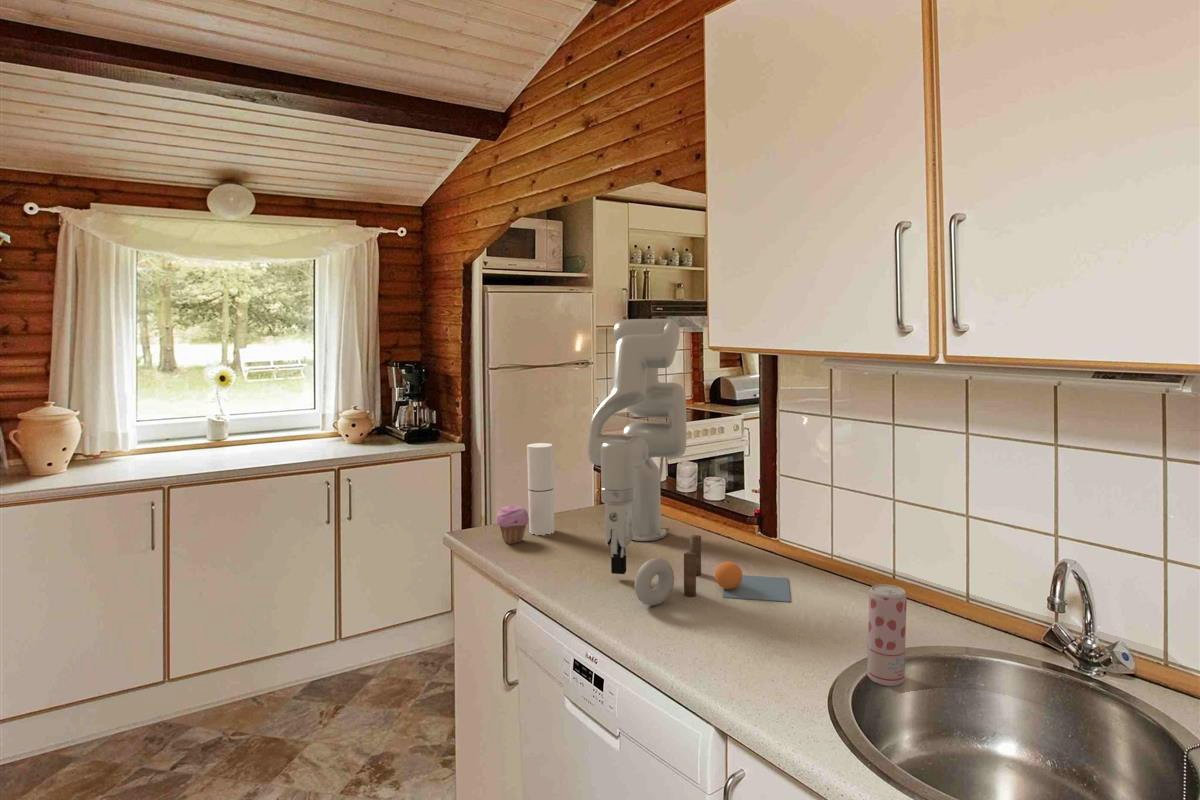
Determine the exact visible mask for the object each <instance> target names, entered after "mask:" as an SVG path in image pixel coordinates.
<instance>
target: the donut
mask: <svg viewBox="0 0 1200 800" xmlns="http://www.w3.org/2000/svg"><path fill="white" fill-rule="evenodd" d="M656 575H657V577H658V580H657V583H656V585H655V586H654V587H653V588H652V587H651V585H652V580H653V578H654V577H656ZM674 583H675V572H674V569H673V567H672V565H671V564H670V562H668V561H667V560H666V559H664V558H660V557H653V558H651V559H648V560H645V562H644V563H642V564H641V566H640V567H639V569H638V571H637V572H636V575H635V579H634V586H633V587H634V593H635V595H636V597H637V599H638V600H639V601H640V602H641V603H642V604H643V605H646V606H649V607H652V606H658V605H660V604H661V603H664V602H665V600H666V599H667V598H668V597H669V595H671V593H672V590H673V588H674Z"/></svg>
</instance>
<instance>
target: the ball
mask: <svg viewBox="0 0 1200 800" xmlns="http://www.w3.org/2000/svg"><path fill="white" fill-rule="evenodd" d="M742 575H743V571H742V569H741V567H740V566H739V565H738V564H737V563H735V562H732V561H724V562H722V563H719V565H718V566H717V567H716V569H715V572H714V579H715V581H716V583H717V585H718V586H719V587H721V588H722V589H723V590H724V589H727V590H731V589H735V588H737V587H738V586H739V585H740V583H741V581H742Z"/></svg>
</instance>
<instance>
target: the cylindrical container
mask: <svg viewBox="0 0 1200 800" xmlns="http://www.w3.org/2000/svg"><path fill="white" fill-rule="evenodd" d="M553 448H554V447H553V444H552V443H547V442H538V443H530V444H527V445H526V457H527V458H526V459H527V493H528V517H529V520H528V525H529V526H528V527H529V528H528V531H529V532H530V533H531V534H530V533H529V534H530V535H532V534H535V535H534V536H538V535H542V536H546V535H545V534H549V535H552V534H554V533H555V501H554V499H555V498H554V495H555V494H554V492H555V491H554V462H553V461H554V456H553V455H554V454H553V452H554V451H553ZM551 533H552V534H551Z"/></svg>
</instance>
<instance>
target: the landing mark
mask: <svg viewBox="0 0 1200 800" xmlns="http://www.w3.org/2000/svg"><path fill="white" fill-rule="evenodd" d="M789 582H790V581H789V578H788V577H777V576H776V577H775V576H759V575H748V574H747V575H746V574H745V575H743V574H742V581H741V583H740V585H739V586H738V587H737V588H735V589H731V590H727V589H724V588H723V592H722V599H723V598H724V599H738V600H740V599H741V600H751V601H766V602H767V601H768V602H781V603H782V602H783V603H791V595H790V593H791V592H790V585H789Z"/></svg>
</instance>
